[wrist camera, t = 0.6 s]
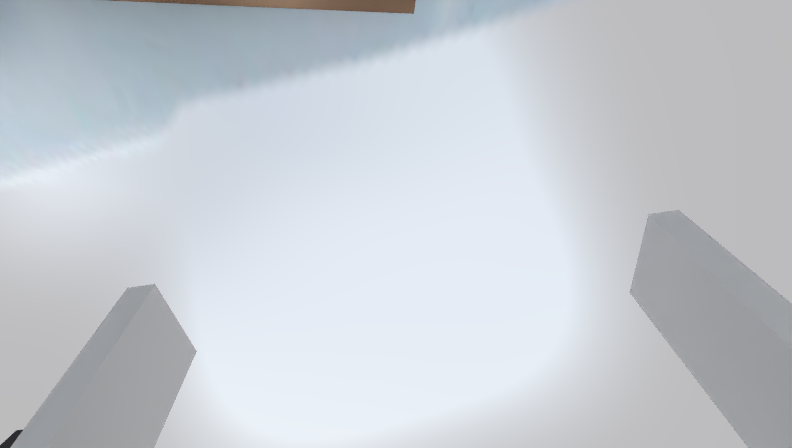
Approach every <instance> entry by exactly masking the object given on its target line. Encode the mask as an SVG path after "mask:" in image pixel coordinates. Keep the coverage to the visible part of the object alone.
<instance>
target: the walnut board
mask: <svg viewBox="0 0 792 448" xmlns="http://www.w3.org/2000/svg"><path fill="white" fill-rule="evenodd" d="M111 1H134V2H157V3H180V4H203V5H227V6H250V7H273V8H296V9H319V10H343V11H366V12H389V13H412V14H414V8H415V0H111Z"/></svg>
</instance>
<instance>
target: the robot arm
mask: <svg viewBox="0 0 792 448" xmlns="http://www.w3.org/2000/svg"><path fill="white" fill-rule="evenodd" d="M630 293H631V295H632V296H633V297H634V299H635V300H636V301H637V302H638V304H639V305H640V307H642V309H643V310H644V312H645V313H646V314H647V316H648V317H649V318H650V320H651V321H652V322H653V324H654V325H655V326H656V327H657V328H658V330H659V331H660V333H661V334H662V335H663V337H664V338H665V339H666V340H667V342H668V343H669V344H670V346H671V347H672V348H673V350H674V351H675V352H676V354H677V355H678V356H679V357H680V359H681V360H682V361H683V363H684V364H685V365H686V367H687V368H688V369H689V371H690V372H691V373H692V375H693V376H694V377H695V379H696V380H697V381H698V383H699V384H700V385H701V386H702V388H703V389H704V390H705V392H706V393H707V394H708V396H709V397H710V398H711V400H712V401H713V402H714V403H715V405H716V406H717V407H718V409H719V410H720V411H721V412H722V414H723V415H724V417H725V418H726V419H727V420H728V422H729V423H730V424H731V426H732V427H733V428H734V430H735V431H736V432H737V434H738V435H739V436H740V437H741V439H742V440H743V441H744V443H745V444H746V445H747V447H748V448H792V304H791V303H790V302H789V301H788V300H787V299H785V298H784V297H783V296H782V295H781V294H779V293H778V292H777V291H776V290H774V289H773V288H772V287H771V286H770V285H768V284H767V283H766V282H765V281H764V280H762V279H761V278H760V277H759V276H758V275H756V274H755V273H754V272H753V271H752V270H750V269H749V268H748V267H747V266H746V265H744V264H743V263H742V262H741V261H740V260H738V259H737V258H736V257H735V256H734V255H732V254H731V253H730V252H729V251H728V250H726V249H725V248H724V247H722V245H720V244H719V243H718V242H717V241H716V240H714V239H713V238H712V237H711V236H710V235H708V234H707V233H706V232H705V231H704V230H702V229H701V228H700V227H699V226H698V225H696V224H695V223H694V222H693V221H692V220H690V219H689V218H688V217H687V216H685V215H684V214H683V213H682V212H681V211H679V210H676V211H668V212H661V213H655V214H649V216H648V219H647V224H646V228H645V232H644V236H643V240H642V245H641V249H640V253H639V257H638V261H637V265H636V269H635V273H634V277H633V282H632V286H631V290H630ZM195 354H196V349H195V348H194V346H193V345H192V343H191V341H190V340H189V338H188V337H187V335H186V333H185V332H184V330H183V329H182V327H181V325H180V324H179V322H178V321H177V319H176V317H175V316H174V314H173V313H172V311H171V309H170V308H169V306H168V305H167V303H166V301H165V300H164V298H163V296H162V295H161V293H160V292H159V290H158V288H157V287H156V285H155V284H153V285H145V286H138V287H131V288H127V289H126V291H125V292H124V293H123V295H122V296H121V297H120V299H119V300H118V301H117V303H116V304H115V306H114V307H113V308H112V310H111V311H110V312H109V314H108V315H107V317H106V318H105V319H104V321H103V322H102V323H101V325H100V326H99V327H98V329H97V330H96V332H95V333H94V334H93V336H92V337H91V338H90V340H89V341H88V342H87V344H86V345H85V347H84V348H83V349H82V351H81V352H80V353H79V355H78V356H77V357H76V359H75V360H74V361H73V363H72V364H71V366H70V367H69V368H68V370H67V371H66V372H65V374H64V375H63V377H62V378H61V379H60V381H59V382H58V383H57V385H56V386H55V387H54V389H53V390H52V391H51V393H50V394H49V396H48V397H47V399H46V400H45V401H44V402H43V404H42V405H41V407H40V408H39V409H38V411H37V412H36V413H35V415H34V416H33V418H32V419H31V420H30V421H29V423H28V424H27V426H26V427H25V428H24V430H17V431H16V432H14V433H13V434H12V435H11V436H10V437H9V438H8V439H7V440H6V441H5V442H3V443H2V444H1V445H0V448H154V446H155V444H156V442H157V439H158V437H159V435H160V433H161V430H162V428H163V425H164V423H165V421H166V419H167V417H168V415H169V412H170V410H171V408H172V405H173V403H174V401H175V399H176V396H177V394H178V392H179V390H180V387H181V385H182V383H183V381H184V378H185V376H186V374H187V371H188V369H189V367H190V365H191V363H192V360H193V358H194V356H195Z"/></svg>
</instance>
